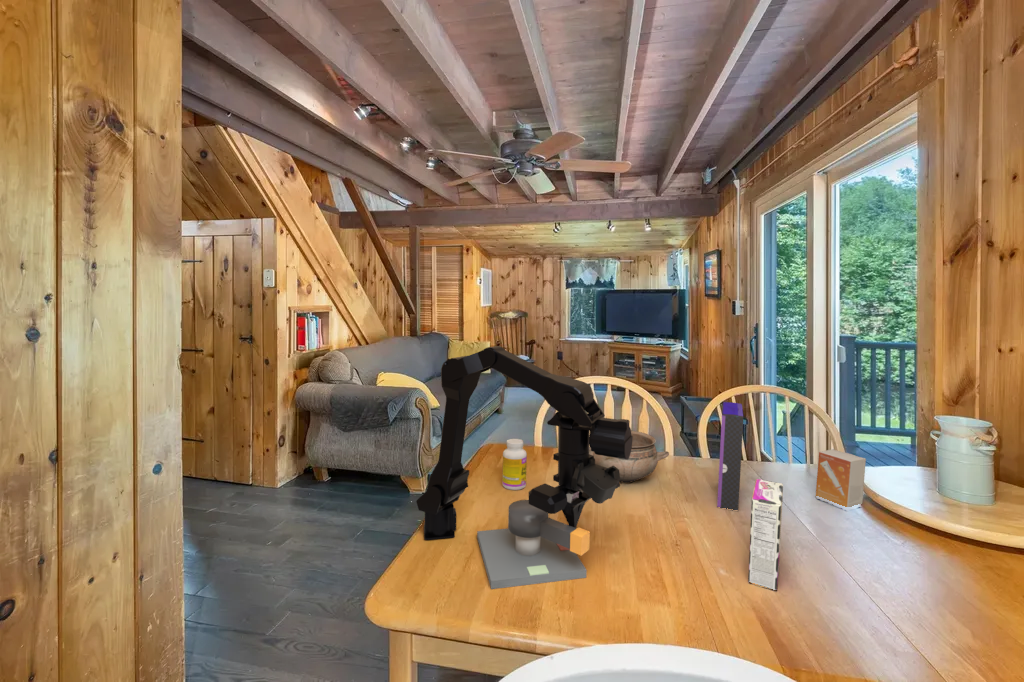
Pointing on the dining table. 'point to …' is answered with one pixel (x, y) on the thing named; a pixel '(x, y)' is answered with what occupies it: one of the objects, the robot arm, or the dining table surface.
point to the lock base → (526, 560)
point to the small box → (840, 477)
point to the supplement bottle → (514, 465)
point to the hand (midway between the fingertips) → (572, 529)
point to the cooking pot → (634, 458)
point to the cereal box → (730, 456)
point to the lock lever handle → (545, 527)
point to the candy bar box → (765, 533)
